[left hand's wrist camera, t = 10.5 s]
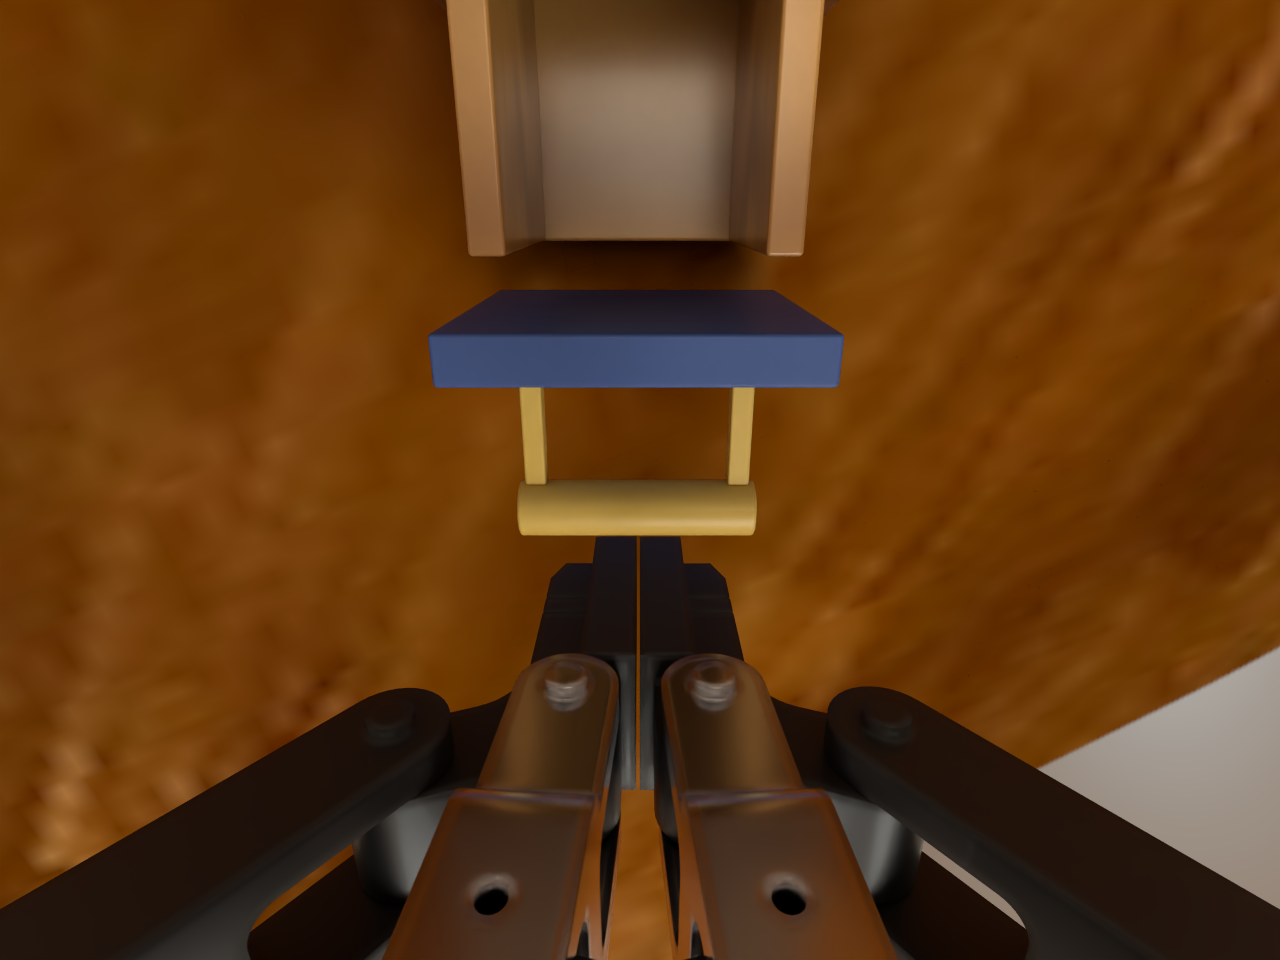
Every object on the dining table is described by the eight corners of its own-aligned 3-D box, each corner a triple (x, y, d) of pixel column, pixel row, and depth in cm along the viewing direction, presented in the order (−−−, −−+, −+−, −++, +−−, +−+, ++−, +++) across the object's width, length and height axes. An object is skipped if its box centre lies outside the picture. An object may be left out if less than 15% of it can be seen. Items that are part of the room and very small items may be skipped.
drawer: (762, 475, 25) (816, 596, 17) (512, 475, 25) (456, 596, 17) (828, -449, 16) (997, -1039, 8) (444, -450, 16) (268, -1038, 8)
